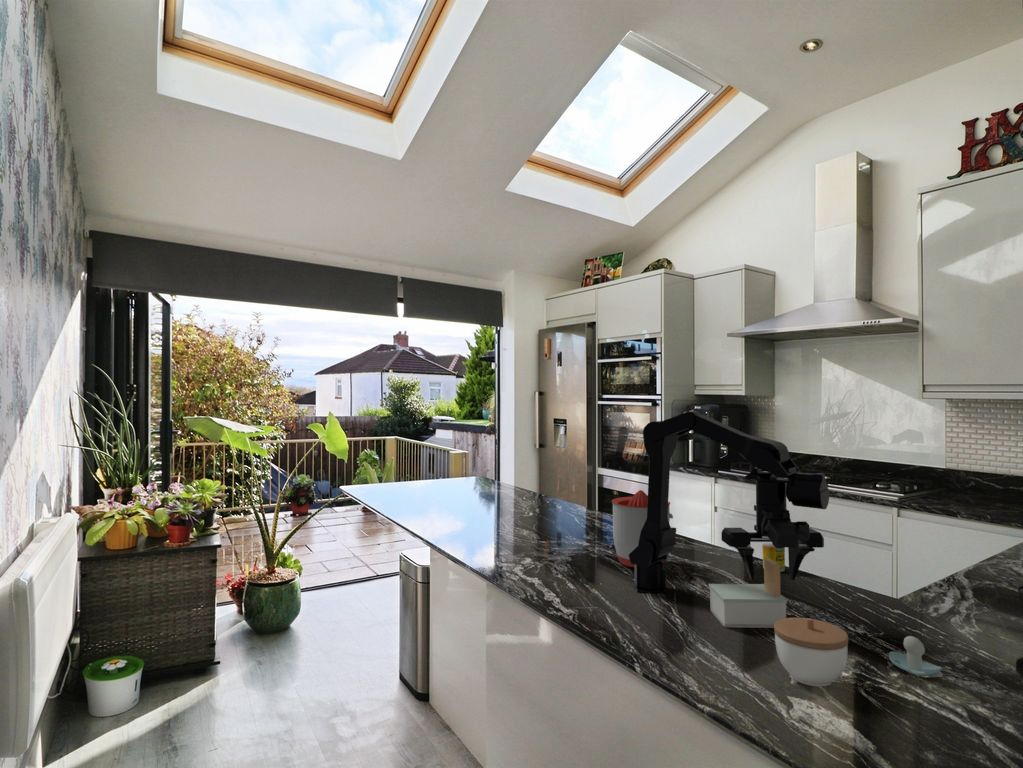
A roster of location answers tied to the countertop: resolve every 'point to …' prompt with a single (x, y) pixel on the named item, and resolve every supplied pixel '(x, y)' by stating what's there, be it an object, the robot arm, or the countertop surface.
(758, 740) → the countertop surface
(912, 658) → the pacifier
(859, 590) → the countertop surface
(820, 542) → the robot arm
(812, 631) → the lidded jar
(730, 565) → the countertop surface
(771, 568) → the lid
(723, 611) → the tub
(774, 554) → the supplement bottle
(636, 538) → the citrus juicer
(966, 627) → the countertop surface
